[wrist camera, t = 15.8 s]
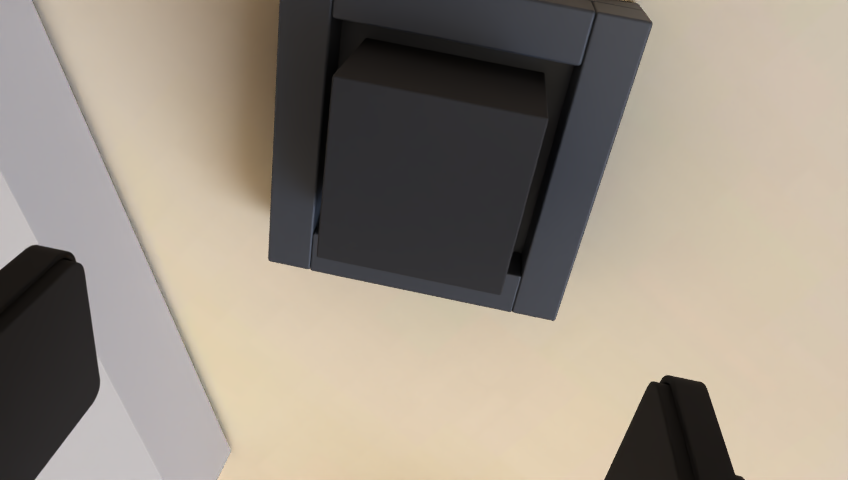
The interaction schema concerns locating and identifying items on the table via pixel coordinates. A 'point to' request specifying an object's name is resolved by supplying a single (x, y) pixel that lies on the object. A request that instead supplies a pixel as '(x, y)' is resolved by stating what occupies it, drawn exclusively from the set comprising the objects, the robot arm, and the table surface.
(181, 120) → the table surface
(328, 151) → the black block
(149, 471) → the disc drive
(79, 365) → the robot arm
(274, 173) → the base pad
